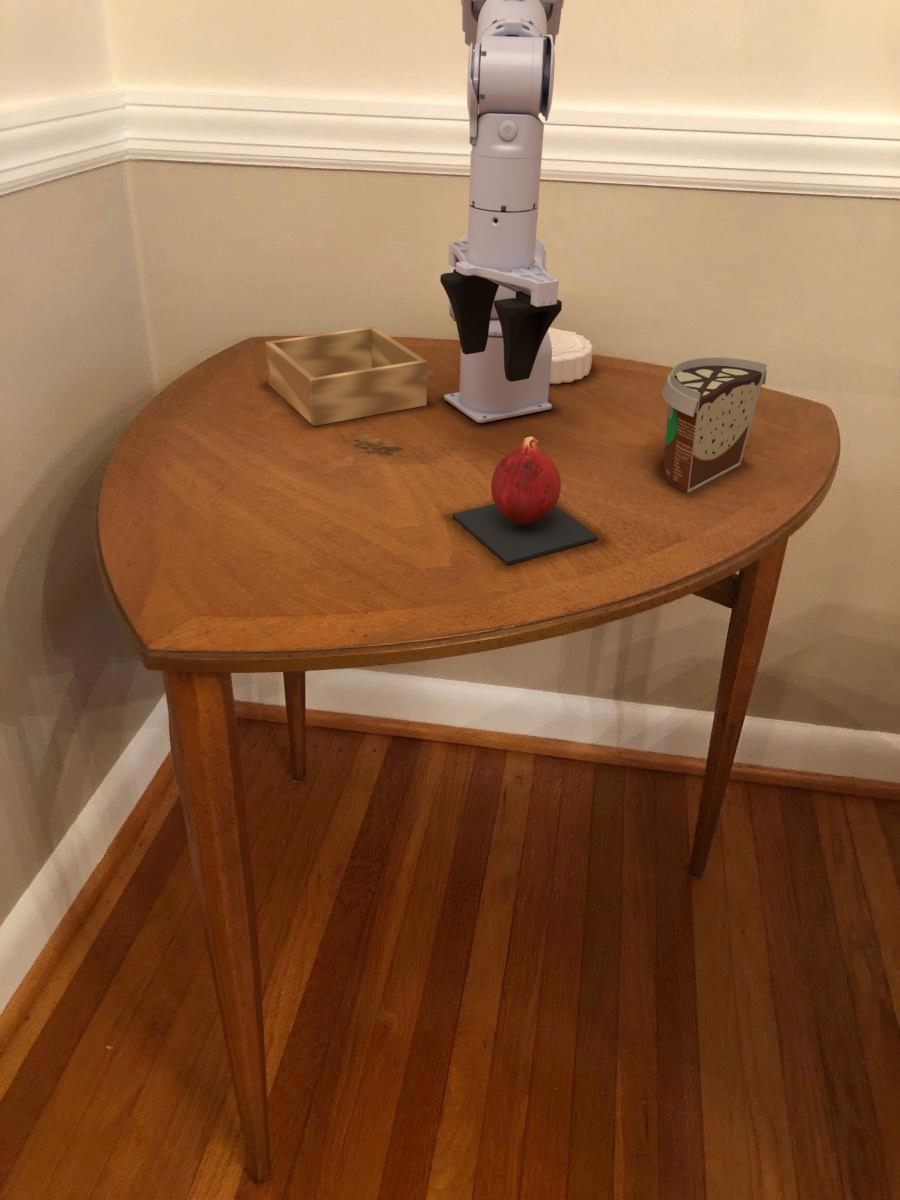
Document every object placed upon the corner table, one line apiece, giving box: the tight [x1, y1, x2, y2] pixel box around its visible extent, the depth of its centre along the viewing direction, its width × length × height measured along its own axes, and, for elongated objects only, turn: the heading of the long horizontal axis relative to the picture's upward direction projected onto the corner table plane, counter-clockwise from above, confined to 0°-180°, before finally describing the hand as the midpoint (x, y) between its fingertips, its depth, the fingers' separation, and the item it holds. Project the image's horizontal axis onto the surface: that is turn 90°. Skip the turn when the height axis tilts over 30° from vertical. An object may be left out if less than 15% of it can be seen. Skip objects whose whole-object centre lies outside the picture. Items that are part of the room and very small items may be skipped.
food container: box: [661, 356, 768, 494], centre depth 89 cm, size 12×6×10 cm, turn 135°
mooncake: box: [548, 326, 594, 385], centre depth 114 cm, size 12×12×4 cm
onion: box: [490, 435, 562, 526], centre depth 78 cm, size 6×6×8 cm
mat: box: [452, 503, 599, 566], centre depth 81 cm, size 9×9×1 cm
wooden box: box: [264, 326, 428, 427], centre depth 104 cm, size 13×13×5 cm
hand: (494, 365), depth 85 cm, fingers open, 7 cm apart
